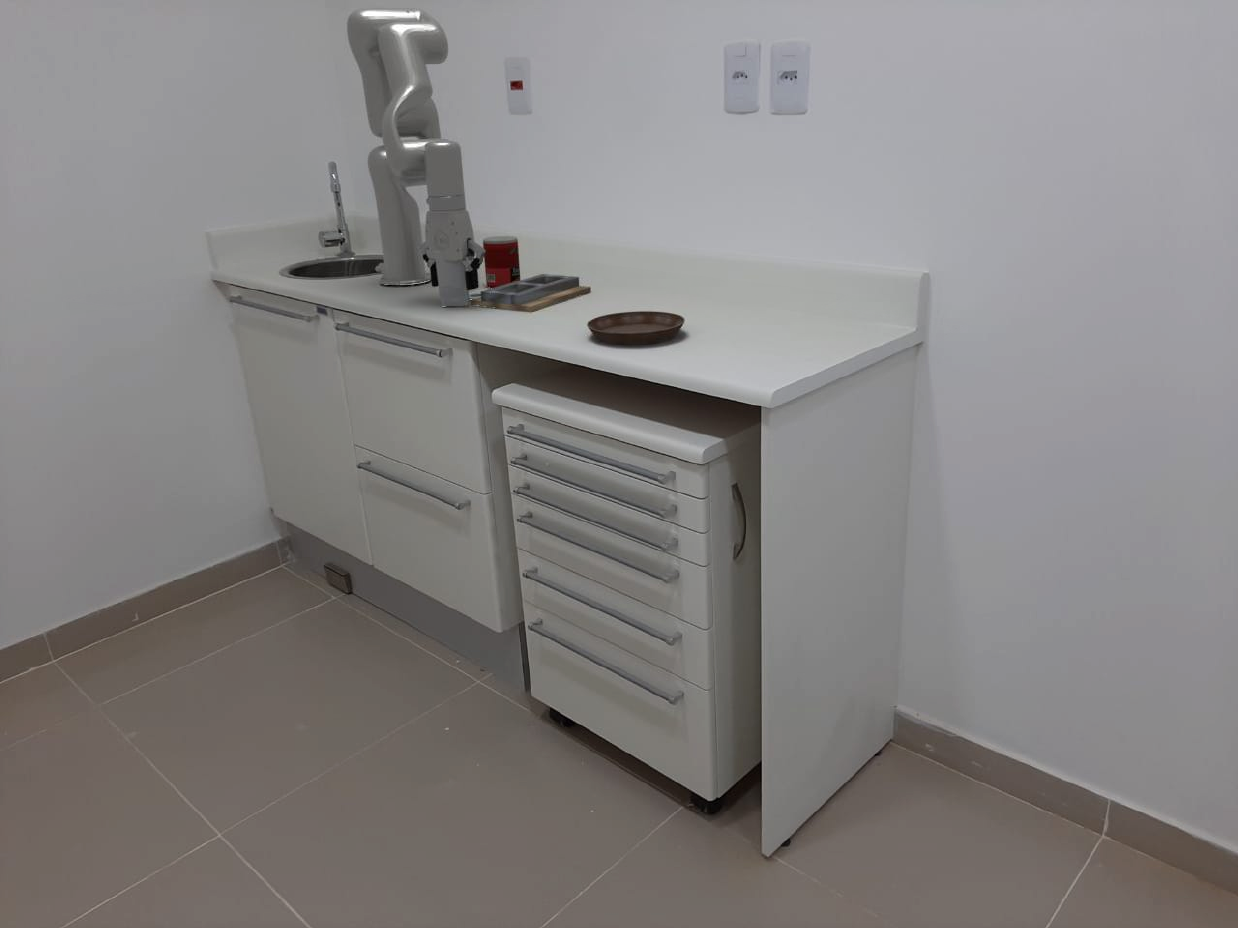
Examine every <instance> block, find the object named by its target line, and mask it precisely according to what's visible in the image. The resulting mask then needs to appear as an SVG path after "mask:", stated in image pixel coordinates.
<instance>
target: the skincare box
mask: <svg viewBox="0 0 1238 928" xmlns="http://www.w3.org/2000/svg"><path fill="white" fill-rule="evenodd" d="M434 253H435V260H436V268H437V276H438V284H439V286H438V290H439V298H440V300H439V301H440V306H459V307H468V306H470V305H471V303H470V295H469V293H470V290H467V288H466V277H465V271H468V270H467V268H466V267H465V266H464V264H463V263H462V261H460V262H448V261H444V260H443V259H442V252H441V251H440V250H435V252H434ZM469 304H470V305H469Z"/></svg>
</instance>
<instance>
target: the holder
mask: <svg viewBox="0 0 1238 928" xmlns="http://www.w3.org/2000/svg"><path fill="white" fill-rule="evenodd" d="M480 293H481V297H479V298H475V299H472V300H470V306H471V305H479V306H486V307H485V308H488V307H495V308H494V309H497V308H502V309H501V310H506V309H510V310H509V311H515V310H516V311H517V312H525V313H526V312H527V313H532V312H536V311H539V310H542V309H545V308H548V307H552V306H553V305H557V304H560V303H563V302H566V301H568V299H569V300H572V299H575V298H577V296H578V297H581V296H585V295H587V294H590V293H592V289H591V286H583V285H580V276H573V275H572V276H571V275H560V274H559V275H558V274H547V273H541V274H539V275H535V276H531V277H526V278H524V279H520V281H516V282H513V283H509V284H506V285H502V286H499V287H495V288H492V289H490V288H488V290H485V291H481V292H480ZM580 295H581V296H580ZM574 297H575V298H574ZM571 298H572V299H571ZM479 306H478V307H479ZM516 311H515V312H516Z"/></svg>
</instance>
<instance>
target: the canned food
mask: <svg viewBox="0 0 1238 928" xmlns="http://www.w3.org/2000/svg"><path fill="white" fill-rule="evenodd" d="M482 248H484V249H485V255H484V258H483V262H484V271H485V273H484V274H485V283H486V287H487V288H488V287H490V288H495V287H499V286H502V285H506V284H509V283H513V282H516V281H520V280H521V267H520V265H521V264H520V253H519V241H518V237H517V236H510V235H504V236H503V235H499V236H498V235H497V236H489V237H485V238H483V239H482ZM490 288H489V289H490Z"/></svg>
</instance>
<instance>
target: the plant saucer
mask: <svg viewBox="0 0 1238 928" xmlns="http://www.w3.org/2000/svg"><path fill="white" fill-rule="evenodd" d="M684 324H685V318H684V317H683V316H682V315H680V314H676V313H673V312H672V313H671V312H667V311H666V312H664V311H651V310H645V311H644V310H641V311H639V310H638V311H624V312H615V313H610V314H605V315H601V316H597V317H595V318H592V319H590V320H589V321H587V324H586V326H587V327H588V329H589V331H590V332H591V334H592V335H593V336H594V337H595V338H596V339H598V340H599V341H600V342H603V343H605V344H611V345H619V346H642V345H651V344H659V343H663V342H666V341H669V340H671V339H672V338H674V337H675V336H676V335H677V334H678V332H679V331H680V330H681V329H682V327H683V325H684Z"/></svg>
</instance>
